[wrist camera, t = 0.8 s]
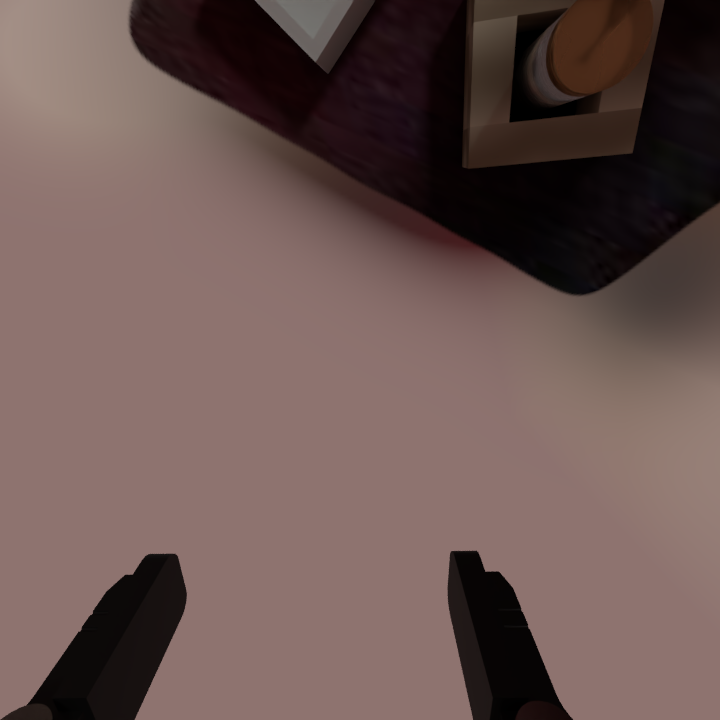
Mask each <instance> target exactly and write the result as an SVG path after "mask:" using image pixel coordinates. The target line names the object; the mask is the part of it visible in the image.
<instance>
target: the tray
mask: <svg viewBox="0 0 720 720" xmlns="http://www.w3.org/2000/svg"><path fill="white" fill-rule="evenodd" d="M255 1H256V2H257V3H258V4H259V5H260V6H261V7H262V8H263V9H264V10H265V11H266V12H267V13H268V14H269V15H270V16H271V17H272V18H273V19H274V20H275V22H276V23H277V24H278V25H279V26H280V27H281V28H282V29H283V30H284V31H285V32H286V33H287V34H288V35H289V36H290V37H291V38H292V39H293V40H294V41H295V42H296V43H297V44H298V45H299V46H300V47H301V48H302V49H303V50H304V51H305V52H306V53H307V54H308V55H309V56H310V57H311V58H312V59H313V60H314V61H315V62H316V63H317V64H318V65H319V66H320V67H321V68H322V69H323V70H324V71H325V72H326V73H327V74H329V72H330V71H331V69H332V68H333V66H334V64H335V63H336V61H337V60H338V58H339V57H340V55H341V54H342V52H343V50H344V49H345V47H346V46H347V44H348V43H349V41H350V40H351V38H352V36H353V35H354V33H355V32H356V30H357V29H358V27H359V26H360V24H361V22H362V21H363V19H364V18H365V16H366V15H367V13H368V11H369V10H370V8H371V7H372V5H373V4H374V2H375V1H376V0H255Z"/></svg>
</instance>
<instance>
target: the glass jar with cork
mask: <svg viewBox="0 0 720 720" xmlns="http://www.w3.org/2000/svg"><path fill="white" fill-rule="evenodd" d="M653 19H654V16H653V8H652V4H651V1H650V0H577V1H576V2H575V3H574V4H573V5H571V6H570V7H569V8H568V9H567V10H566V11H565V12H564V13H563V14H562V15H561V16H560V17H559V18H558V19H557V20H556V21H555V22H554V23H553V24H552V25H551V26H550V27H548V28H547V29H546V30H545V31H544V32H543V33H542V34H541V35H540V36H539V37H538V38H537V39H536V40H535V41H534V42H533V43H532V44H531V45H530V46H529V47H528V48H527V49H525V50H524V51H523V52H522V54H521V55H520V56H519V57H518V59H517V60H516V62H515V64H514V67H513V80H512V93H511V98H512V100H513V102H514V103H515V105H516V106H517V107H518V108H520V109H521V110H523V111H525V112H530V113H537V112H541V111H544V110H547V109H550V108H553V107H556V106H559V105H562V104H565V103H568V102H571V101H574V100H577V99H579V98H582V97H585V96H588V95H591V94H594V93H597V92H600V91H603V90H606V89H608V88H610V87H612V86H614V85H616V84H617V83H619V82H620V81H622V80H623V79H624V78H625V77H626V76H627V75H629V74H630V73H631V71H632V70H633V69H634V68H635V67H636V66H637V64H638V63H639V61H640V60H641V58H642V57H643V55H644V53H645V51H646V49H647V47H648V44H649V41H650V38H651V35H652V30H653Z"/></svg>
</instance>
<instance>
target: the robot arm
mask: <svg viewBox="0 0 720 720" xmlns="http://www.w3.org/2000/svg"><path fill="white" fill-rule="evenodd" d="M186 597H187V593H186V587H185V583H184V579H183V575H182V572H181V567H180V563H179V559H178V556H177V555H176V554H148V555H147V556H145V558H144V559H143V560H142V561H141V563H140V564H139V566H138V567H137V569H136V570H135V572H134V574H133V575H125V576H124V577H122V578H121V579H120V580H119V581H118V582H117V583H116V584H115V585H113V586H112V587H111V588H110V589H109V590H108V591H107V592H106V593H105V595H104V596H103V597H102V599H101V600H100V602H99V603H98V605H97V606H96V607H95V609H94V610H93V614H92V615H90V616H89V618H88V619H87V621H86V622H85V623H84V625H83V626H82V630H81V631H80V632H78V633H77V635H76V636H75V638H74V639H73V641H72V642H71V643H70V645H69V646H68V648H67V649H66V651H65V652H64V654H63V655H62V657H61V658H60V659H59V661H58V662H57V664H56V665H55V667H54V668H53V669H52V671H51V672H50V674H49V675H48V677H47V678H46V680H45V681H44V682H43V684H42V685H41V687H40V688H39V690H38V691H37V692H36V694H35V695H34V697H33V698H32V699H31V701H30V702H29V703H28V704H27V705H26V706H24V707H21V708H19V709H17V710H15V711H13V712H11V713H10V714H8V715H6V716H5V717H4V718H2V719H1V720H135V718H136V715H137V713H138V711H139V709H140V707H141V704H142V702H143V700H144V698H145V696H146V694H147V691H148V689H149V687H150V685H151V682H152V680H153V678H154V676H155V674H156V672H157V670H158V667H159V665H160V663H161V661H162V659H163V657H164V654H165V652H166V650H167V648H168V646H169V643H170V641H171V639H172V637H173V635H174V633H175V631H176V628H177V626H178V624H179V622H180V620H181V617H182V615H183V612H184V609H185V604H186ZM448 604H449V611H450V616H451V621H452V625H453V629H454V634H455V639H456V643H457V648H458V652H459V657H460V661H461V666H462V670H463V675H464V679H465V684H466V688H467V693H468V698H469V702H470V707H471V711H472V716H473V720H573V719H572V718H571V717H570V716H569V714H568V713H567V712H566V710H565V709H564V708H563V706H562V704H561V703H560V701H559V699H558V697H557V695H556V693H555V690H554V688H553V685H552V683H551V680H550V678H549V675H548V673H547V670H546V668H545V665H544V663H543V661H542V658H541V656H540V653H539V651H538V648H537V646H536V643H535V641H534V638H533V636H532V633H531V631H530V629H529V628H528V624H527V621H526V619H525V616H524V614H523V612H522V611H521V607H520V604H519V602H518V599H517V597H516V594H515V592H514V589H513V588H512V586H511V585H510V584H509V583H508V582H507V581H506V579H505V578H504V577H503V576H502V575H501V573H500V572H485V570H484V567H483V564H482V561H481V558H480V556H479V553H478V552H477V551H451V553H450V563H449V578H448Z"/></svg>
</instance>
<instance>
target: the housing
mask: <svg viewBox="0 0 720 720" xmlns="http://www.w3.org/2000/svg"><path fill="white" fill-rule="evenodd" d="M576 1H577V0H467V16H466V50H465V84H464V118H463V151H462V167H464V168H467V169H471V168H482V167H492V166H503V165H513V164H524V163H534V162H545V161H555V160H566V159H576V158H586V157H597V156H607V155H618V154H628V153H632V152H633V147H634V143H635V138H636V133H637V128H638V124H639V119H640V114H641V110H642V105H643V100H644V95H645V91H646V86H647V81H648V77H649V72H650V67H651V62H652V58H653V53H654V48H655V44H656V39H657V34H658V29H659V25H660V20H661V15H662V10H663V6H664V1H665V0H650V1H651V4H652V8H653V16H654V19H653V30H652V35H651V38H650V41H649V44H648V47H647V49H646V51H645V53H644V55H643V57H642V58H641V60H640V61H639V63H638V64H637V66H636V67H635V68H634V69H633V70H632V71H631V73H630V74H629V75H627V76H626V77H625V78H624V79H623V80H622V81H620V82H619V83H617V84H616V85H614V86H612V87H610V88H608V89H606V90H603V91H600V92H597V93H594V94H591V95H588V96H585V97H582V98H579V99H577V105H576V112H575V115H573V116H564V117H555V118H547V119H538V120H529V121H520V122H511V123H509V119H510V106H511V93H512V80H513V67H514V54H515V41H516V33H520V32H527V31H534V30H541V29H547V28H548V27H550V26H551V25H552V24H553V23H554V22H555V21H556V20H557V19H558V18H559V17H560V16H561V15H562V14H563V13H564V12H565V11H566V10H567V9H568V8H569V7H570V6H571V5H573V4H574V3H575V2H576Z"/></svg>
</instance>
